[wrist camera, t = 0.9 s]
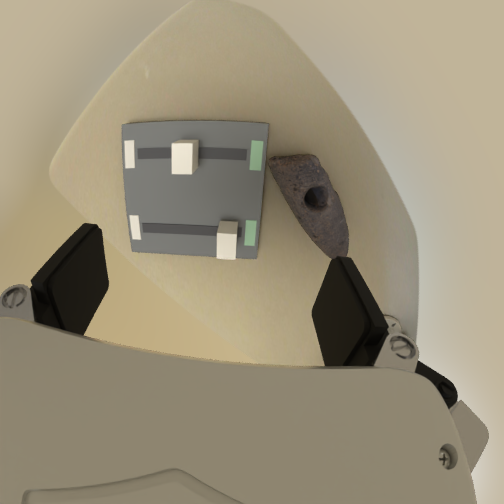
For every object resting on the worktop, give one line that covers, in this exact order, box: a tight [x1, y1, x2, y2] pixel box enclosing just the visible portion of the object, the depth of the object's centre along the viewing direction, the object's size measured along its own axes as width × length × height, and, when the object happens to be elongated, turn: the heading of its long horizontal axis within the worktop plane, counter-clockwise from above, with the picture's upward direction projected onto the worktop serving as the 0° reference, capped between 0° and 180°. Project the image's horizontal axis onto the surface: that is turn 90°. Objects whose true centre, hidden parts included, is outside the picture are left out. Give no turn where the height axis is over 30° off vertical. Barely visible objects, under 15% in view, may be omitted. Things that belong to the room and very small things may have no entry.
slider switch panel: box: [122, 120, 269, 259], centre depth 30 cm, size 16×16×2 cm
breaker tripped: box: [172, 140, 199, 174], centre depth 25 cm, size 2×3×3 cm, turn 176°
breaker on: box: [217, 221, 238, 260], centre depth 30 cm, size 2×3×3 cm, turn 176°
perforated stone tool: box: [269, 155, 349, 259], centre depth 29 cm, size 15×5×7 cm, turn 29°
